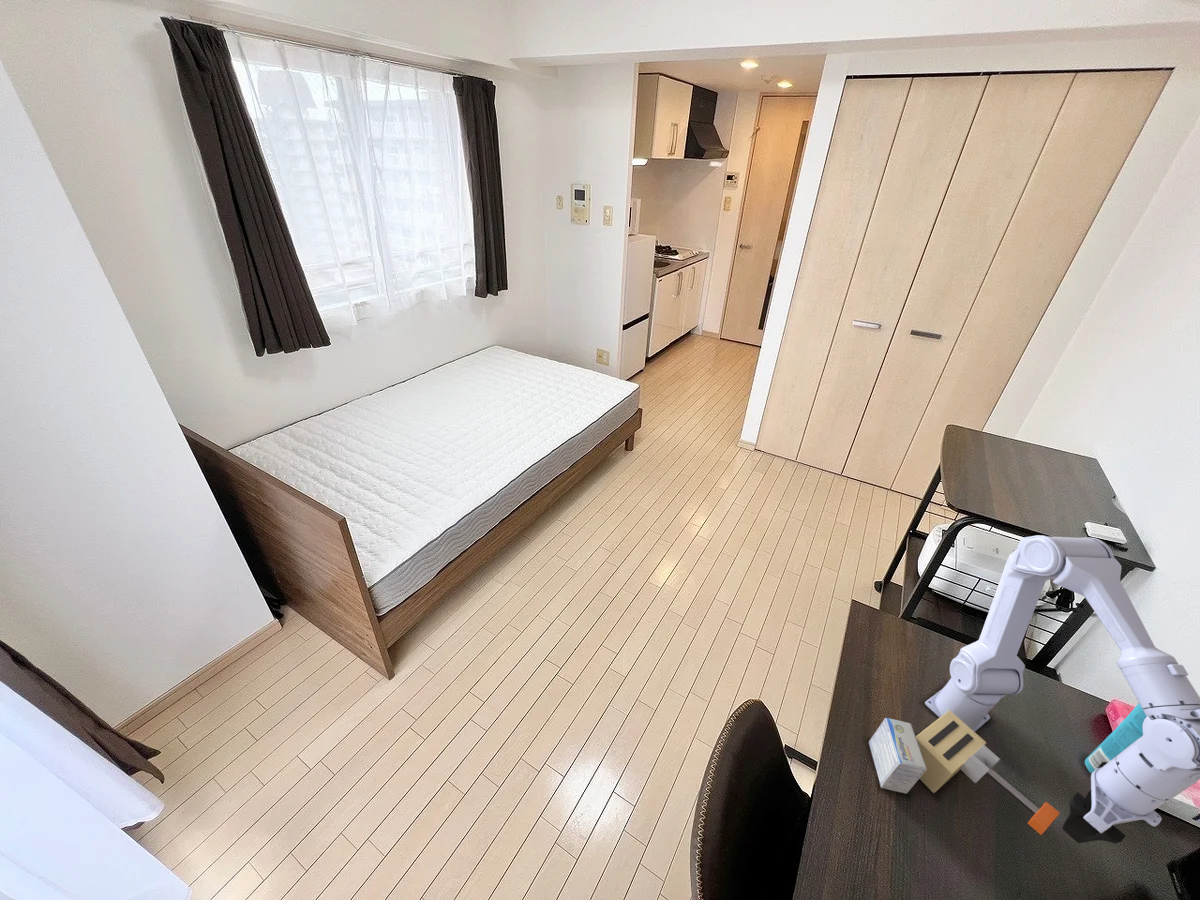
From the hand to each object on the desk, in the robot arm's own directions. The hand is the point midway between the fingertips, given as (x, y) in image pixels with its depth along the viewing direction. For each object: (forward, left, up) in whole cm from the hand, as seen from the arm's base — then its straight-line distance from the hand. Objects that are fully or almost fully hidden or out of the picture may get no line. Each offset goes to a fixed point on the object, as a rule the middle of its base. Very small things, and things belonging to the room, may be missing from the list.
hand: (1082, 820), depth 72 cm
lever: (+3, -7, -3) cm, 8 cm away
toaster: (+3, -15, -10) cm, 18 cm away
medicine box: (+12, -20, -11) cm, 25 cm away
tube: (-24, 0, -11) cm, 26 cm away
